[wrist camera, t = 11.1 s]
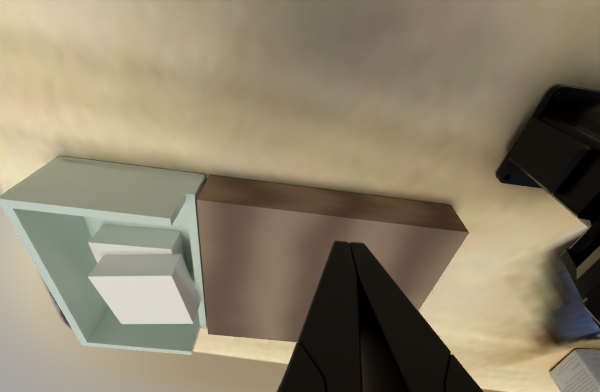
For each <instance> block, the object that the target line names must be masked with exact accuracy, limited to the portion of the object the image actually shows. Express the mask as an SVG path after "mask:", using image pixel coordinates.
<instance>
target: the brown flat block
mask: <svg viewBox="0 0 600 392" xmlns="http://www.w3.org/2000/svg"><path fill="white" fill-rule="evenodd" d="M197 209H198V220H199V232H200V244H201V256H202V267H203V279H204V291H205V303H206V314H207V326H208V334H213V335H224V336H235V337H246V338H257V339H268V340H279V341H290V342H297V341H298V338H299V335H300V332H301V330H302V327H303V324H304V322H305V319H306V316H307V313H308V311H309V308H310V305H311V302H312V300H313V297H314V294H315V291H316V289H317V286H318V283H319V280H320V278H321V275H322V272H323V270H324V267H325V264H326V261H327V259H328V256H329V253H330V250H331V248H332V245H333V242H334V241H335V240H339V241H347V242H348V243H349V242H362V243H364V244H365V245H366V246H367V247H368V248H369V250H370V251H371V252H372V253H373V255H374V256H375V257H376V259H377V260H378V261H379V262H380V264H381V265H382V266H383V267H384V269H385V270H386V271H387V272H388V274H389V275H390V276H391V277H392V279H393V280H394V281H395V282H396V284H397V285H398V286H399V287H400V289H401V290H402V291H403V292H404V294H405V295H406V296H407V297H408V299H409V300H410V301H411V302H412V304H413V305H414V306H415V307H416V309H417V310H419V309H420V307H421V306H422V304H423V303H424V301H425V300H426V298H427V297H428V295H429V293H430V292H431V290H432V289H433V287H434V286H435V284H436V283H437V281H438V280H439V278H440V277H441V275H442V273H443V272H444V270H445V269H446V267H447V266H448V264H449V263H450V261H451V260H452V258H453V256H454V255H455V253H456V252H457V250H458V249H459V247H460V246H461V244H462V243H463V241H464V240H465V238H466V236H467V235H468V233H469V232H468V230H467V229H466V227H465V226H464V224H463V223H462V221H461V220H460V218H459V217H458V215H457V214H456V212H455V211H454V209H453V208H452V206H451V205H445V204H437V203H429V202H421V201H413V200H405V199H397V198H389V197H381V196H373V195H365V194H358V193H350V192H342V191H334V190H326V189H318V188H310V187H302V186H294V185H286V184H278V183H270V182H263V181H255V180H247V179H239V178H231V177H223V176H215V175H209V177H208V179H207V181H206V183H205V185H204V187H203V189H202V191H201V193H200V194H199V196H198V198H197Z"/></svg>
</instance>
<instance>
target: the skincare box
mask: <svg viewBox="0 0 600 392" xmlns="http://www.w3.org/2000/svg"><path fill="white" fill-rule="evenodd" d="M550 375H551V377H552V378H553V380H554V382H555V383H556V385H557V386H558V388H559V390H560V391H561V392H600V350H599V349H575V350H574V351H573V352H571V353H570V354H569V355H568V356H567V357H566V358H565V359H564V360H563V361H562V362H561V363H559V364H558V365H557V366H556V367H555V368H554V369H553V370H552V371H551V372H550Z"/></svg>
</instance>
